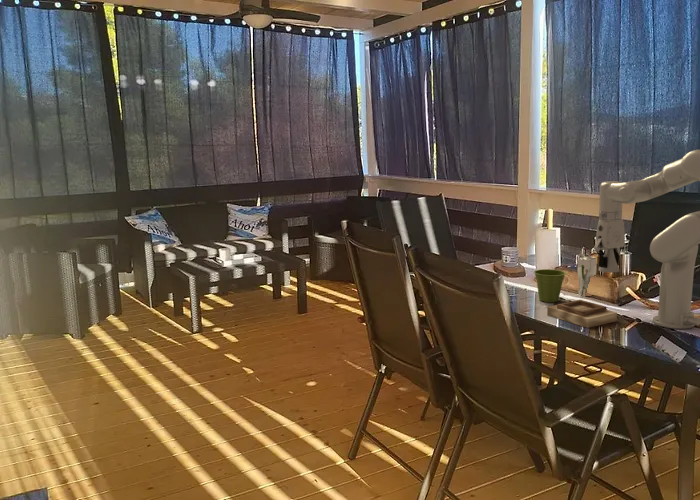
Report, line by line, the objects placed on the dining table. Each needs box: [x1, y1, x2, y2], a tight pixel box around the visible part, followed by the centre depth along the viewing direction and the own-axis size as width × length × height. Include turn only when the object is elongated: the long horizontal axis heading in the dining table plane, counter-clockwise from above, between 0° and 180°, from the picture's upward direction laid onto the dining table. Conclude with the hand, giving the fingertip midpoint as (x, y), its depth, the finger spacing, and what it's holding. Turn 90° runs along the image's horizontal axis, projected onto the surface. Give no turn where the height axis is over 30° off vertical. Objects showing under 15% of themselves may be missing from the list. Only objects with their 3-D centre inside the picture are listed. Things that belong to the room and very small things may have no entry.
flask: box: [597, 249, 620, 274], centre depth 220 cm, size 7×7×10 cm
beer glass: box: [577, 256, 597, 297], centre depth 243 cm, size 7×7×15 cm
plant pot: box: [533, 268, 567, 303], centre depth 237 cm, size 12×12×11 cm
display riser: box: [546, 299, 618, 329], centre depth 214 cm, size 18×14×4 cm
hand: (608, 265), depth 221 cm, fingers closed on flask, 5 cm apart
